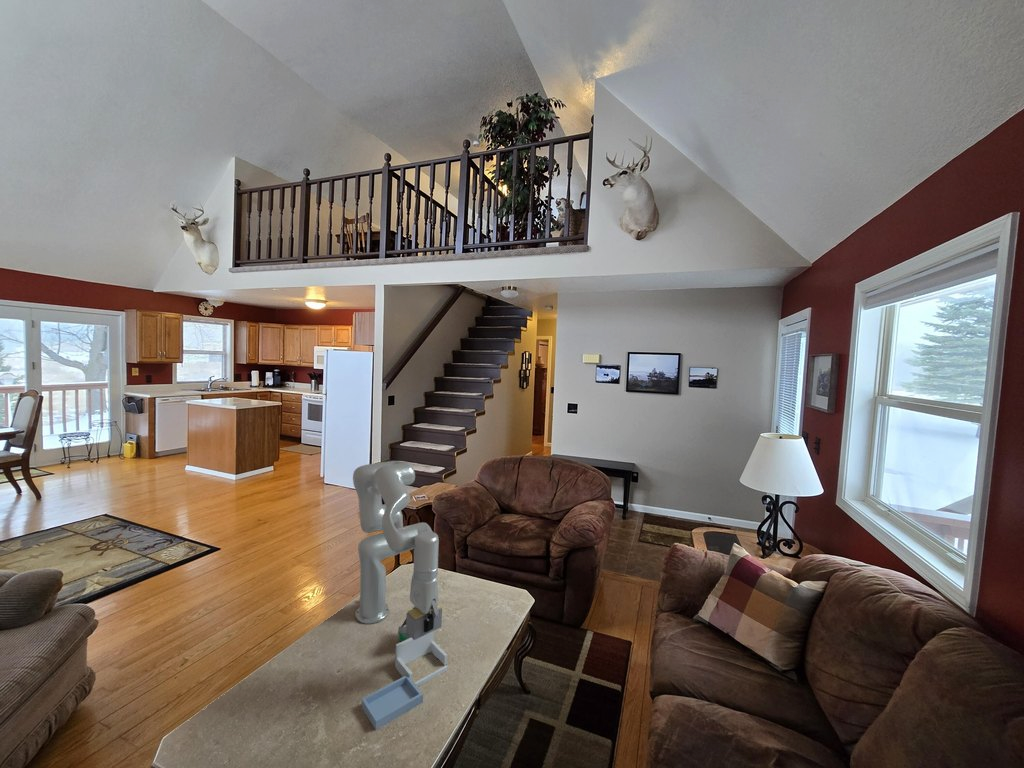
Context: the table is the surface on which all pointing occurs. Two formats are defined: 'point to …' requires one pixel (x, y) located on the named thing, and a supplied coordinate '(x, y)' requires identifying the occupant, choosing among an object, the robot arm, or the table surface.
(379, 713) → the tray
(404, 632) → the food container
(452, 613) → the table surface
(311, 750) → the table surface
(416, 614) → the yellow-topped block
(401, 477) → the robot arm
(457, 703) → the table surface
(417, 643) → the bay
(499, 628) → the table surface
